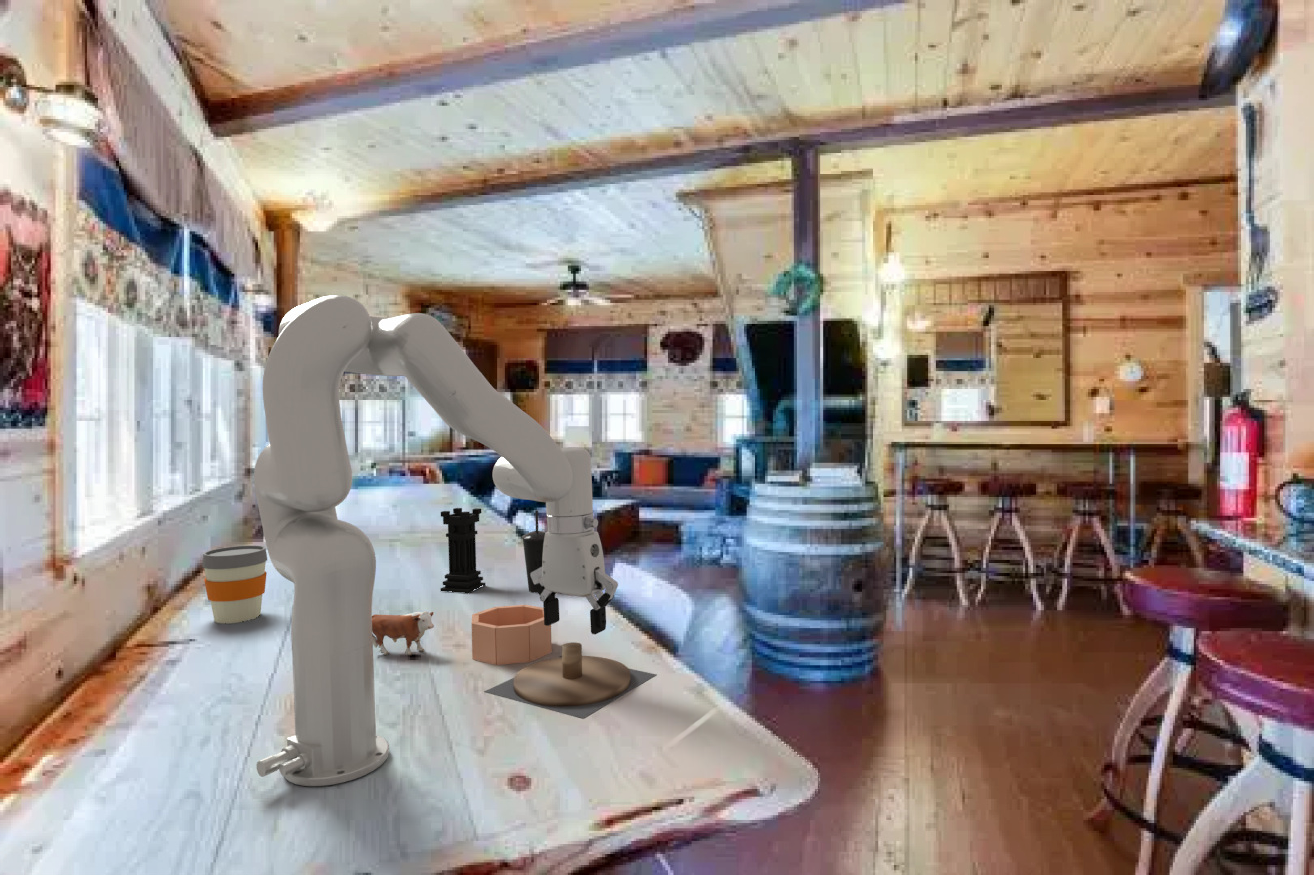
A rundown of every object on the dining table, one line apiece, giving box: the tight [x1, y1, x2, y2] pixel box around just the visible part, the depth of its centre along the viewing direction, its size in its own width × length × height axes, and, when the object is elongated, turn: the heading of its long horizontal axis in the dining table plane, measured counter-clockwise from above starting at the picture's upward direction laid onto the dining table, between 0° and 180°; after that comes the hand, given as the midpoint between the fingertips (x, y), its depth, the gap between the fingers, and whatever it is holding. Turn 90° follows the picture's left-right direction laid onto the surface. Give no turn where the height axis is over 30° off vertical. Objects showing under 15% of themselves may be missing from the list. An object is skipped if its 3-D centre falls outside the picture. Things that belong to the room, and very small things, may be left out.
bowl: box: [471, 604, 553, 666], centre depth 137 cm, size 14×14×7 cm
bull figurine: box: [372, 610, 435, 656], centre depth 138 cm, size 4×13×8 cm, turn 78°
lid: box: [513, 641, 631, 707], centre depth 120 cm, size 19×19×6 cm
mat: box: [483, 655, 658, 720], centre depth 120 cm, size 20×20×1 cm
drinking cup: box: [521, 509, 547, 593], centre depth 183 cm, size 8×8×20 cm
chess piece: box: [440, 507, 486, 594], centre depth 186 cm, size 8×8×20 cm
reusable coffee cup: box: [201, 544, 268, 624], centre depth 163 cm, size 13×12×15 cm
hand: (574, 627), depth 121 cm, fingers open, 9 cm apart
